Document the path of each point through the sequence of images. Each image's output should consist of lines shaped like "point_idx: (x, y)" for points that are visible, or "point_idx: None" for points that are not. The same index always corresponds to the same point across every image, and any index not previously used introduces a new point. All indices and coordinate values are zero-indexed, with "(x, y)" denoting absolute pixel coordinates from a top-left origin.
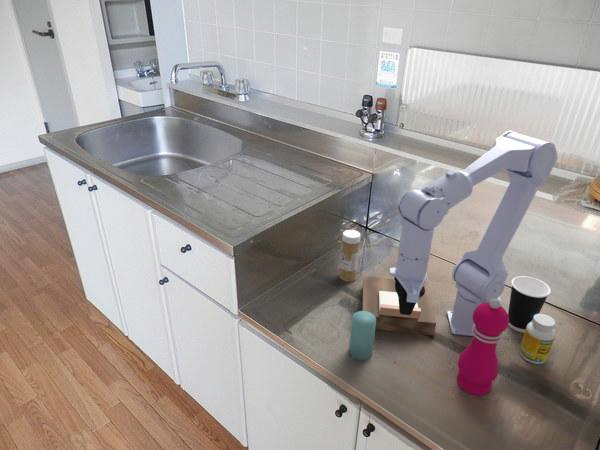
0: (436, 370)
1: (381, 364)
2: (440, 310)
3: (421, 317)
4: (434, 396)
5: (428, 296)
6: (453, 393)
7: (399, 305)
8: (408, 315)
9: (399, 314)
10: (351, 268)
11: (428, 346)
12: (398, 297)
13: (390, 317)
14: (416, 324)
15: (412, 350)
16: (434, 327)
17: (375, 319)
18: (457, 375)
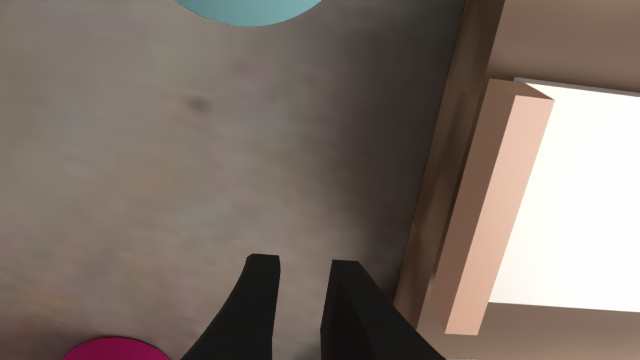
0: (170, 276)
1: (173, 33)
2: None
3: None
4: (8, 242)
5: (624, 357)
6: (46, 311)
7: (227, 301)
8: (448, 251)
9: (463, 203)
10: None
11: (322, 272)
12: (379, 306)
13: None
14: (424, 263)
15: (291, 202)
16: None
17: (235, 18)
18: (129, 350)
